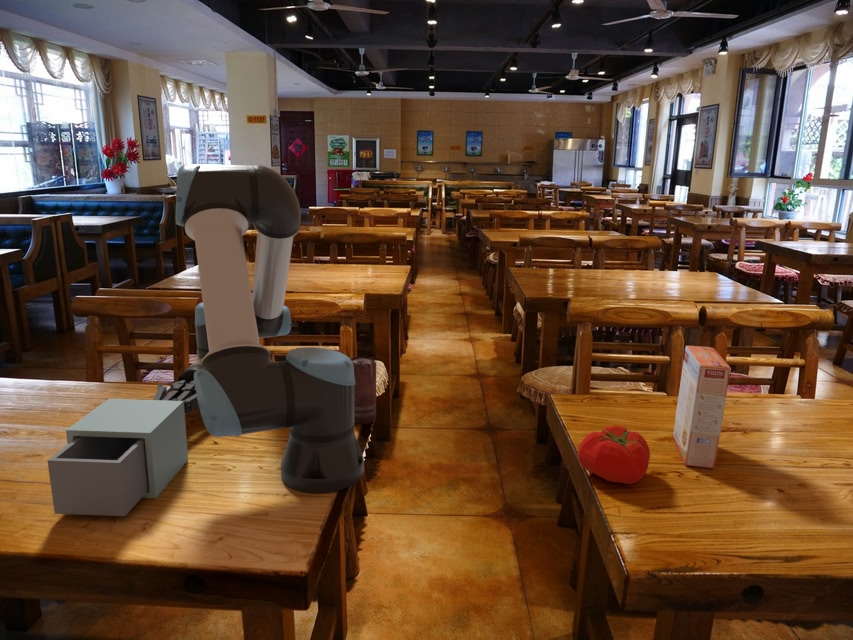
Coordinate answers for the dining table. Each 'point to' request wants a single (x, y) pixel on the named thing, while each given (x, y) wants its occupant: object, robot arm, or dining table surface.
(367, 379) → the can
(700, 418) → the cracker box
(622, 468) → the tomato
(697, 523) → the dining table surface
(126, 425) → the sleeve
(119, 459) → the tray
